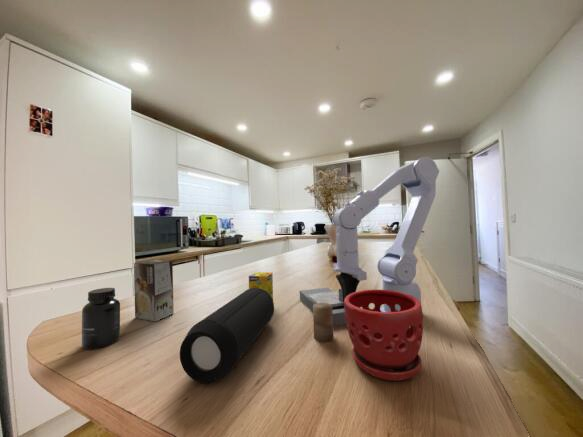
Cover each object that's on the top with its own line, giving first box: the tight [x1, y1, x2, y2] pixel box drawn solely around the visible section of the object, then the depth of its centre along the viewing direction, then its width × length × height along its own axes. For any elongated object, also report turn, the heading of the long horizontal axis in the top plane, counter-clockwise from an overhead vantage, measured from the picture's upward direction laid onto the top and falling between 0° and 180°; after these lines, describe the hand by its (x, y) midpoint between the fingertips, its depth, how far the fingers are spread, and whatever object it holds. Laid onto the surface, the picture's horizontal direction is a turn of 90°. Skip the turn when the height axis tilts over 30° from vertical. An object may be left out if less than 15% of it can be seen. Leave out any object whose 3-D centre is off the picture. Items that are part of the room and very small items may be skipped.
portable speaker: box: [179, 288, 275, 384], centre depth 50 cm, size 26×10×10 cm, turn 166°
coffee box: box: [133, 259, 175, 322], centre depth 69 cm, size 9×6×16 cm
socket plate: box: [299, 287, 347, 327], centre depth 70 cm, size 10×22×3 cm, turn 15°
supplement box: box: [248, 271, 274, 300], centre depth 71 cm, size 6×6×11 cm
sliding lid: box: [307, 288, 344, 307], centre depth 69 cm, size 10×11×4 cm
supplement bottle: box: [81, 287, 121, 351], centre depth 53 cm, size 7×7×12 cm
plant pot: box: [344, 288, 424, 382], centre depth 42 cm, size 13×13×12 cm
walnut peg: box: [312, 303, 334, 343], centre depth 53 cm, size 4×4×7 cm
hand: (349, 301), depth 63 cm, fingers closed
